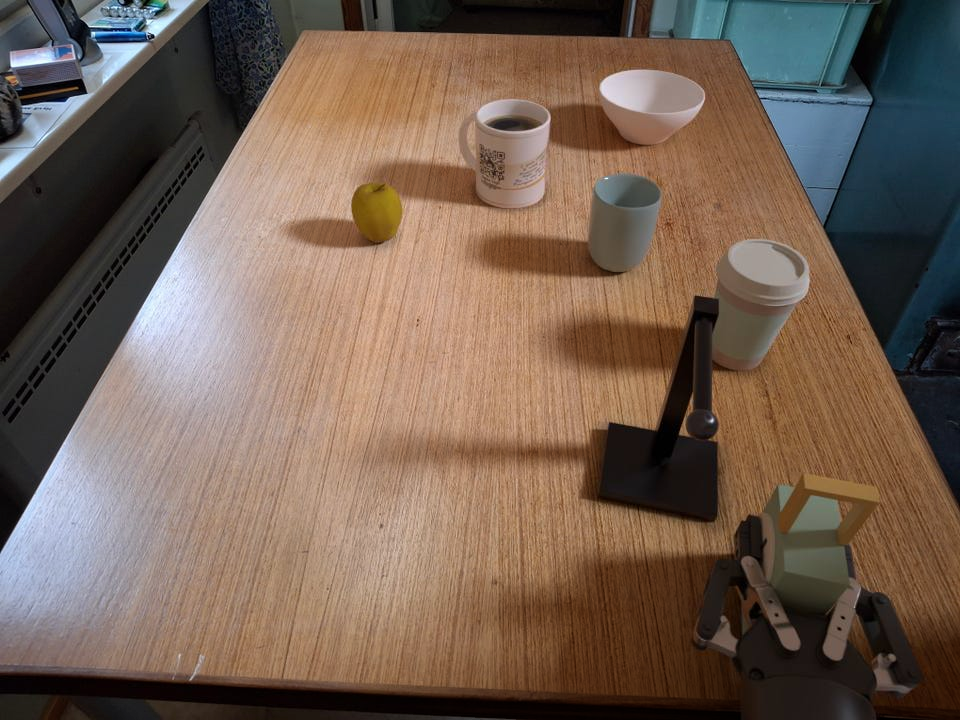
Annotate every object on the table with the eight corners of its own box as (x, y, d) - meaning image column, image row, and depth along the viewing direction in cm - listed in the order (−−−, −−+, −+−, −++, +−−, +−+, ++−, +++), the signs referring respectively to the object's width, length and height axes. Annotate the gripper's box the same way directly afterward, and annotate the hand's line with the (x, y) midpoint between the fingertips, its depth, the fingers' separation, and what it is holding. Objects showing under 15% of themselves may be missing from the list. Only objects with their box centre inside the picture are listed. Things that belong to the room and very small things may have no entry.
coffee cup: (772, 389, 68) (814, 298, 60) (687, 368, 70) (716, 277, 62) (778, 336, 74) (816, 245, 65) (699, 317, 76) (726, 227, 68)
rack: (714, 449, 63) (776, 296, 50) (714, 587, 53) (791, 442, 40) (607, 429, 65) (640, 276, 52) (588, 559, 55) (623, 411, 42)
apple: (412, 244, 86) (407, 189, 80) (363, 256, 84) (355, 200, 79) (396, 219, 90) (391, 164, 84) (350, 229, 88) (341, 174, 83)
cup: (578, 244, 86) (587, 174, 79) (637, 241, 86) (652, 171, 79) (590, 282, 80) (601, 210, 73) (654, 279, 81) (671, 207, 74)
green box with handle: (793, 564, 55) (869, 450, 44) (800, 649, 50) (888, 544, 39) (734, 552, 55) (795, 437, 45) (736, 634, 51) (805, 527, 40)
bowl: (575, 140, 106) (580, 96, 101) (619, 103, 115) (625, 61, 110) (671, 169, 100) (681, 123, 95) (709, 127, 109) (720, 84, 104)
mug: (484, 215, 91) (484, 138, 83) (457, 172, 99) (455, 98, 91) (555, 201, 93) (562, 125, 85) (524, 160, 101) (527, 87, 93)
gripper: (984, 802, 35) (916, 521, 46) (699, 729, 37) (702, 480, 49) (917, 832, 40) (871, 574, 52) (671, 767, 42) (680, 534, 54)
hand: (789, 529), depth 50 cm, fingers open, 5 cm apart
